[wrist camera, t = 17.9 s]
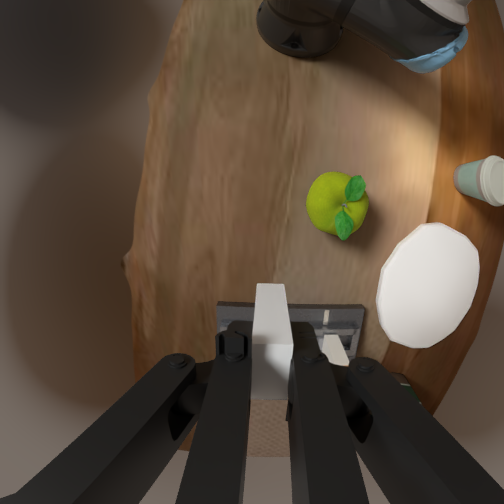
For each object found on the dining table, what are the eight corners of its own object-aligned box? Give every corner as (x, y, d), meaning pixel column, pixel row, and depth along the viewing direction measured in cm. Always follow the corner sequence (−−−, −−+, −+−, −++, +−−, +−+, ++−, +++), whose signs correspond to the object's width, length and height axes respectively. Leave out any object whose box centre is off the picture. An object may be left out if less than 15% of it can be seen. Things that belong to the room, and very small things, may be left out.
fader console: (219, 357, 54) (217, 367, 51) (218, 301, 52) (215, 309, 48) (351, 358, 53) (355, 368, 50) (361, 304, 51) (367, 312, 47)
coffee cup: (474, 206, 45) (512, 213, 33) (444, 193, 45) (483, 198, 33) (480, 166, 43) (519, 166, 31) (451, 151, 43) (490, 147, 31)
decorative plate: (417, 205, 42) (499, 256, 43) (406, 203, 46) (487, 251, 47) (357, 337, 48) (446, 361, 49) (351, 326, 52) (438, 352, 53)
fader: (315, 349, 50) (326, 391, 38) (318, 330, 50) (331, 370, 37) (336, 348, 50) (352, 390, 38) (339, 329, 49) (358, 369, 37)
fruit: (363, 185, 46) (386, 186, 36) (344, 236, 48) (363, 249, 38) (313, 164, 45) (326, 159, 36) (294, 217, 48) (302, 226, 38)
